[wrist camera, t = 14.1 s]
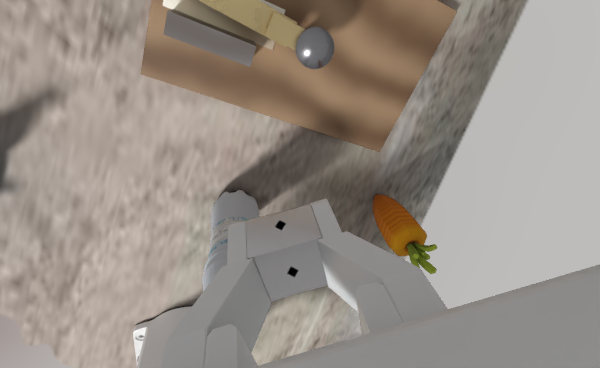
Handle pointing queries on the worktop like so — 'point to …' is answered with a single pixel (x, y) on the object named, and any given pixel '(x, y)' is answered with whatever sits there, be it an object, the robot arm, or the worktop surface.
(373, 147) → the latch board
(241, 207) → the bottle
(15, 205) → the worktop surface
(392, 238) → the carrot
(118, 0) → the worktop surface
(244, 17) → the swing bar
